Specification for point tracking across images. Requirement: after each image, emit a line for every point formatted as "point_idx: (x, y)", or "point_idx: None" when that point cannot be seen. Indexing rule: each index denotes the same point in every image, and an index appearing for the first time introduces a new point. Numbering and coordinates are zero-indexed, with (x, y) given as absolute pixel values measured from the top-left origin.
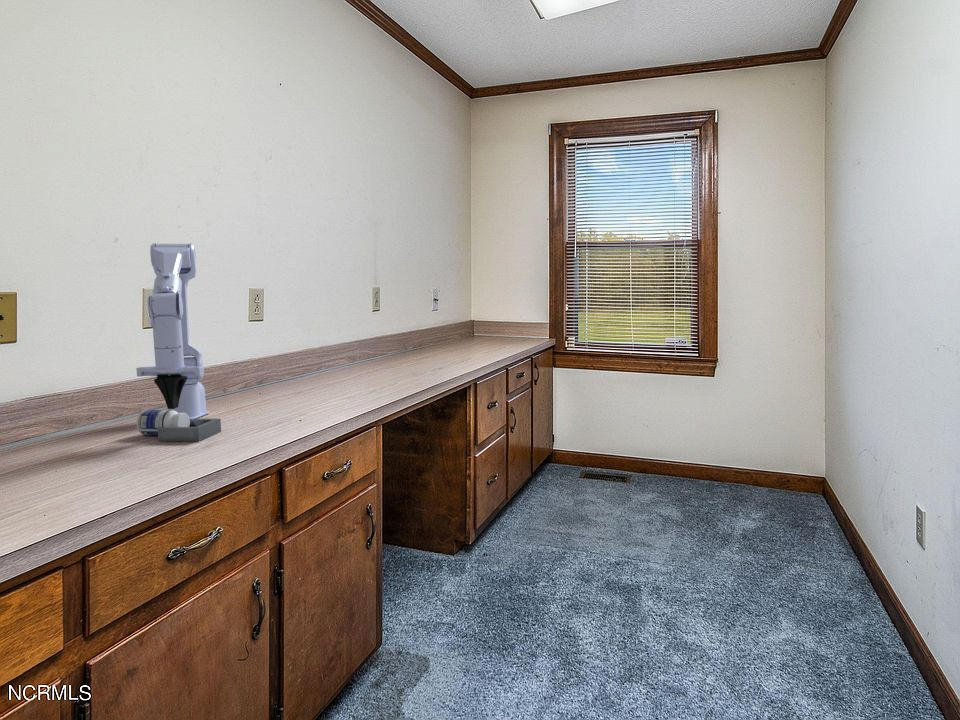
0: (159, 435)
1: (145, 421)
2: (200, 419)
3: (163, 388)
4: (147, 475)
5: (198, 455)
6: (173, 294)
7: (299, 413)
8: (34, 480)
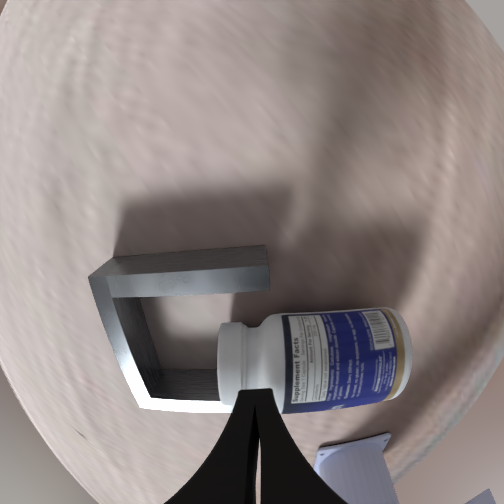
0: (260, 253)
1: (370, 327)
2: (194, 401)
3: (279, 481)
4: None
5: (31, 111)
6: None
7: (130, 472)
8: None
